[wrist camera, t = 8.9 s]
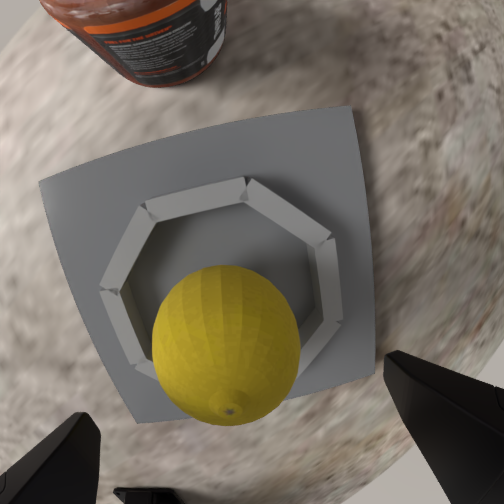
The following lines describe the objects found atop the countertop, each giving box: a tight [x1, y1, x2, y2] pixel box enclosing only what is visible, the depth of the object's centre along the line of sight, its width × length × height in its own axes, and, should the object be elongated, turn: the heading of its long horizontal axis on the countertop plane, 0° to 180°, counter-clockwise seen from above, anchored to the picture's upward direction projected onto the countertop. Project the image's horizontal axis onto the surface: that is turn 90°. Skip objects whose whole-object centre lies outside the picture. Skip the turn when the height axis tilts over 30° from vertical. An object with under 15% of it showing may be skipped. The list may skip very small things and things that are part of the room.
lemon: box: [152, 265, 301, 426], centre depth 12 cm, size 6×6×8 cm
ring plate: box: [39, 106, 375, 424], centre depth 15 cm, size 16×16×3 cm
